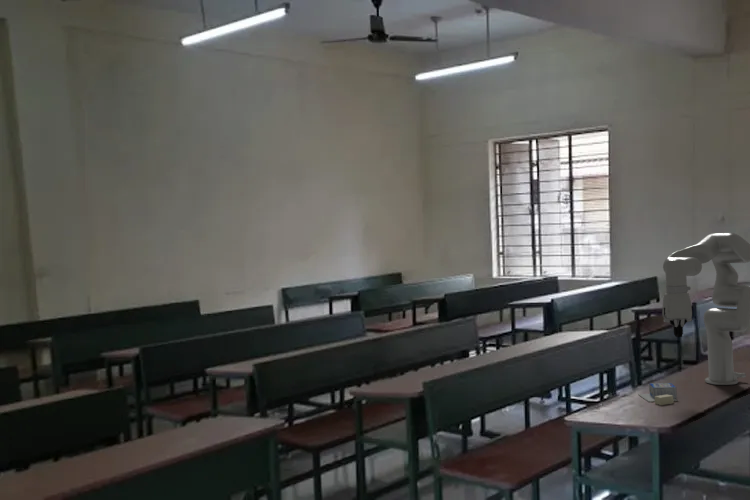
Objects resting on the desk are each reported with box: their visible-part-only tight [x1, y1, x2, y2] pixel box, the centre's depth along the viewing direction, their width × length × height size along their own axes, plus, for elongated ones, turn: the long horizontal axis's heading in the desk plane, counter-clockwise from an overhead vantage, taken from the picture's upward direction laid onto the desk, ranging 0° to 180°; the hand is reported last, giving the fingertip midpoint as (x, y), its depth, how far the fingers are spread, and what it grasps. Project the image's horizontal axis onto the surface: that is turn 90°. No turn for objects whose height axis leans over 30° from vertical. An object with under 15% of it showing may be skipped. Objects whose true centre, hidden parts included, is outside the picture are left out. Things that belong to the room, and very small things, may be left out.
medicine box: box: [648, 382, 678, 399], centre depth 281 cm, size 8×4×9 cm
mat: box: [638, 393, 678, 403], centre depth 280 cm, size 11×12×1 cm
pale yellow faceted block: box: [654, 394, 674, 406], centre depth 272 cm, size 6×3×3 cm, turn 109°
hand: (678, 336), depth 279 cm, fingers closed
